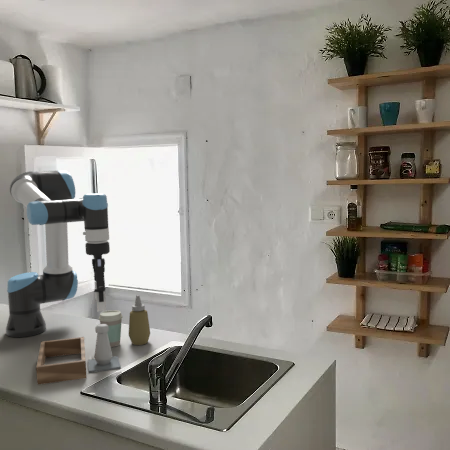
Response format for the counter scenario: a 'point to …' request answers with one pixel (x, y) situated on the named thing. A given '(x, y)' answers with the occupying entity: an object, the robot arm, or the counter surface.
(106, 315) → the coffee cup
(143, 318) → the squeeze bottle
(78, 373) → the crate
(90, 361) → the mat
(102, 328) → the salt shaker
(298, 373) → the counter surface
